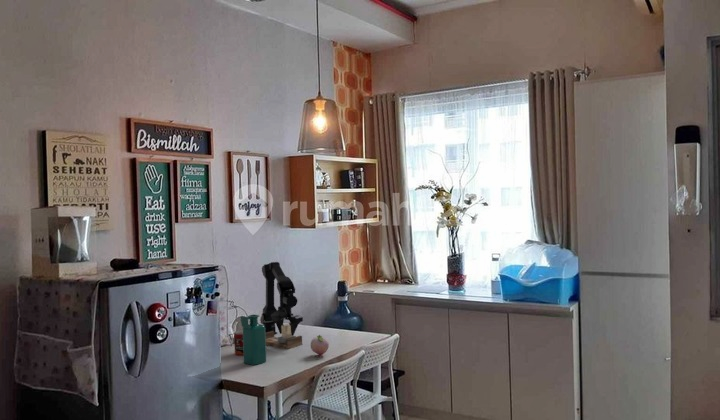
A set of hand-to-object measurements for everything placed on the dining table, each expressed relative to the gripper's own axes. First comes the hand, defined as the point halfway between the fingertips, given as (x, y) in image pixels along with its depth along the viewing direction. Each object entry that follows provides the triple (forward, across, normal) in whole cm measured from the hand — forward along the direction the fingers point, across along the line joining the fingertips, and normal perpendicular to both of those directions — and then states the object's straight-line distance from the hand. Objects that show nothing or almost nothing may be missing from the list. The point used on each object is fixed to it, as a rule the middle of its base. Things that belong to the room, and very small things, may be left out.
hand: (286, 334), depth 304 cm
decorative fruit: (+6, +28, -6) cm, 29 cm away
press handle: (+3, 0, 0) cm, 3 cm away
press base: (+6, -5, 0) cm, 7 cm away
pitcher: (+6, +10, -31) cm, 33 cm away
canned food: (+6, -7, -23) cm, 25 cm away
